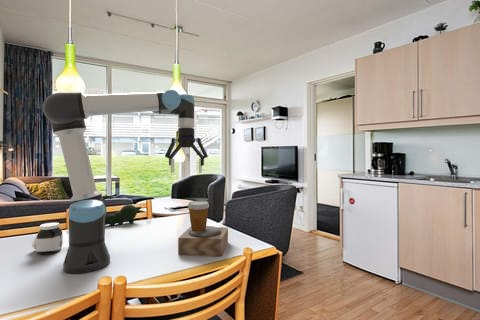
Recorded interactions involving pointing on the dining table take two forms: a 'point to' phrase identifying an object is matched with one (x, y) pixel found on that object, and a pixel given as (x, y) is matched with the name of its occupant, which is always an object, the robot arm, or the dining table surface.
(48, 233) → the spread jar
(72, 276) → the dining table surface
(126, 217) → the dark green lumpy figure
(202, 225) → the disposable coffee cup
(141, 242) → the dining table surface
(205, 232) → the block
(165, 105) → the robot arm
